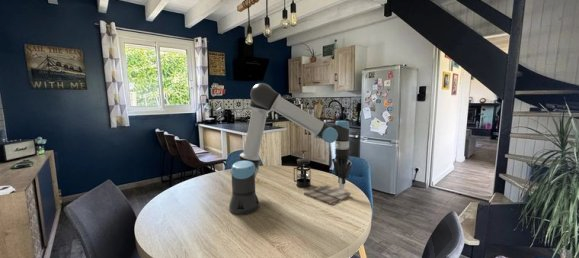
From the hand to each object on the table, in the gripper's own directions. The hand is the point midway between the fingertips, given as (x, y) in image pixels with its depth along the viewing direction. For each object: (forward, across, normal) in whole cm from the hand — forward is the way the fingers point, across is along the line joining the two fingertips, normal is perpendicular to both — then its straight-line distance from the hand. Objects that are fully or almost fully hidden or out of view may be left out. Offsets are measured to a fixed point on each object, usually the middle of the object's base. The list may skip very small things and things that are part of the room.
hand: (341, 188), depth 139 cm
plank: (+4, -6, -2) cm, 7 cm away
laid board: (+4, -6, -11) cm, 13 cm away
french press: (+4, -28, -4) cm, 29 cm away
